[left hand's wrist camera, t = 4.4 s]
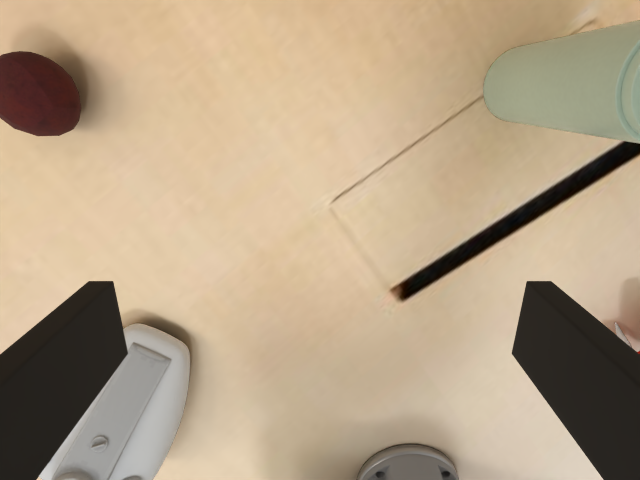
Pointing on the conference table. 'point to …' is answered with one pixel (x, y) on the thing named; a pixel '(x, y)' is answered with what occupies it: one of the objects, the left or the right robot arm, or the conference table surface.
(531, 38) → the conference table surface
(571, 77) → the bottle
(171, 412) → the projector
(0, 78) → the dark red ball
